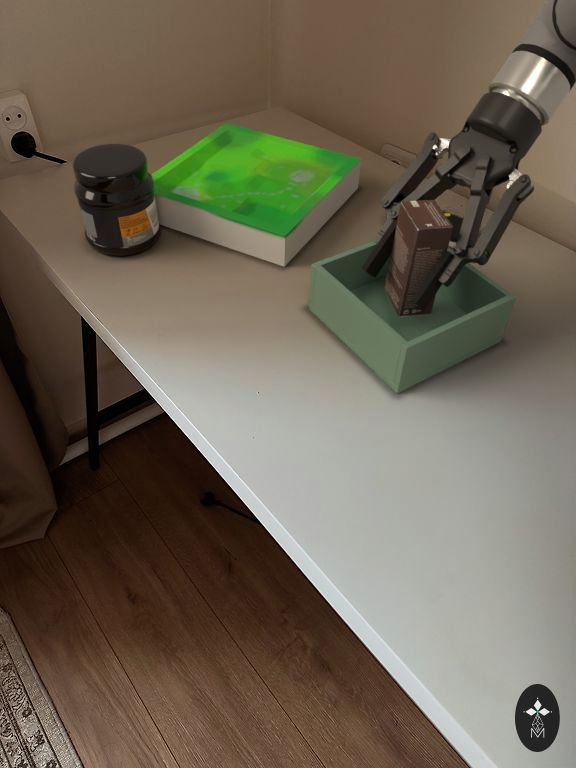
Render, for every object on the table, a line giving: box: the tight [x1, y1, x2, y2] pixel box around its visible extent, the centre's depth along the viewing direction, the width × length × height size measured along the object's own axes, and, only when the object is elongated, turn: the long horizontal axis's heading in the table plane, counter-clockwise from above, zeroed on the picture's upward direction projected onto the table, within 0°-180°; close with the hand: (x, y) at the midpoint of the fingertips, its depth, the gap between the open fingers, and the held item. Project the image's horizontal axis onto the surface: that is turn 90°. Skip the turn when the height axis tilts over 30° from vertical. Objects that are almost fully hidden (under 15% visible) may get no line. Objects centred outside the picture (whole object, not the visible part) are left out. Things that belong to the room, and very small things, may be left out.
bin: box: [308, 240, 517, 394], centre depth 77 cm, size 18×17×7 cm
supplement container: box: [72, 143, 161, 257], centre depth 88 cm, size 10×10×12 cm
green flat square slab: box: [150, 122, 362, 268], centre depth 98 cm, size 25×25×5 cm
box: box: [385, 199, 453, 318], centre depth 73 cm, size 6×4×12 cm
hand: (392, 288), depth 73 cm, fingers closed on box, 7 cm apart
